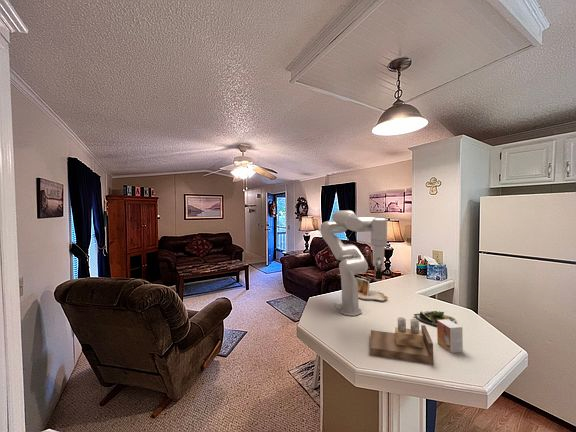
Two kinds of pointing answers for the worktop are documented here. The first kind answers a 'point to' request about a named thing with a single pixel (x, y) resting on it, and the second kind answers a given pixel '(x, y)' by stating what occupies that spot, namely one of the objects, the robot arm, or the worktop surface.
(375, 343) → the walnut shelf
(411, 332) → the salt and pepper set
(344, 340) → the worktop surface
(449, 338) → the small box
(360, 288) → the religious ornament
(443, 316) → the salad plate
